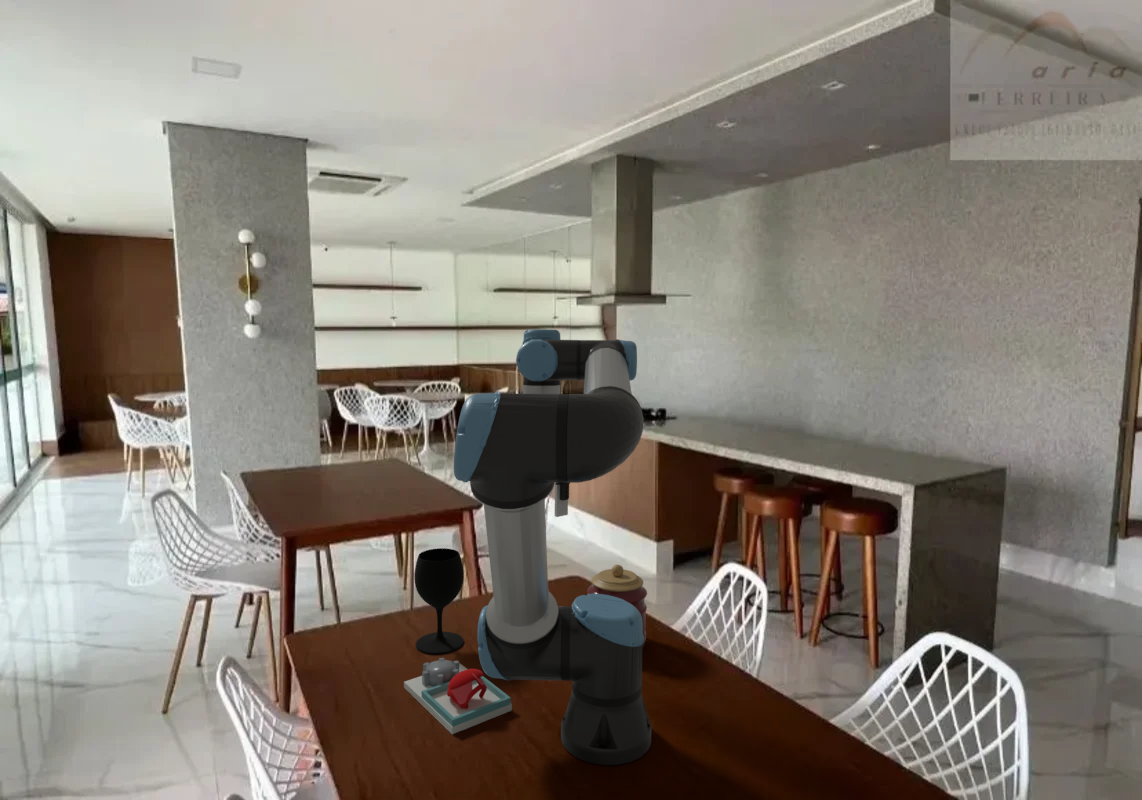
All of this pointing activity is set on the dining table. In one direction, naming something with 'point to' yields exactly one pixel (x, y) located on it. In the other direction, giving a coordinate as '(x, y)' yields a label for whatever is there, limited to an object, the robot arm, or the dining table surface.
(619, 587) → the canister
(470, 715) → the carrier board
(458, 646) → the wine glass
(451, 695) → the cap
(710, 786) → the dining table surface
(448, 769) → the dining table surface
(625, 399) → the robot arm
